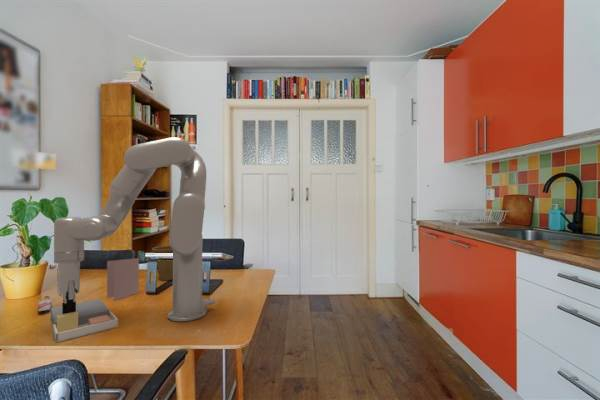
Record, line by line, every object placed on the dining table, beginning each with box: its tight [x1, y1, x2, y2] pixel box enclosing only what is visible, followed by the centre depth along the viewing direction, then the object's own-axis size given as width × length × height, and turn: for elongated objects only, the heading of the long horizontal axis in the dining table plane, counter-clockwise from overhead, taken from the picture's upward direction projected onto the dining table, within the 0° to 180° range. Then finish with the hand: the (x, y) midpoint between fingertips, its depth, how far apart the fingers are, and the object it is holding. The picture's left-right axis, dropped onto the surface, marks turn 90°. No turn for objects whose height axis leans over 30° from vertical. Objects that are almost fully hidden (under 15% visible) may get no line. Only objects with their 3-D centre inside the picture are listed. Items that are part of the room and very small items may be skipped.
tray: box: [52, 311, 119, 344], centre depth 91 cm, size 15×9×2 cm, turn 134°
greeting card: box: [106, 257, 140, 302], centre depth 122 cm, size 11×7×15 cm, turn 125°
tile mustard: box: [56, 311, 78, 333], centre depth 89 cm, size 5×5×2 cm
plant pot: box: [152, 245, 173, 282], centre depth 151 cm, size 15×15×16 cm
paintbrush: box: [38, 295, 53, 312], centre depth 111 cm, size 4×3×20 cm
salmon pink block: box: [88, 315, 111, 326], centre depth 92 cm, size 5×5×2 cm
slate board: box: [50, 298, 111, 327], centre depth 100 cm, size 14×16×3 cm
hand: (69, 314), depth 93 cm, fingers closed
